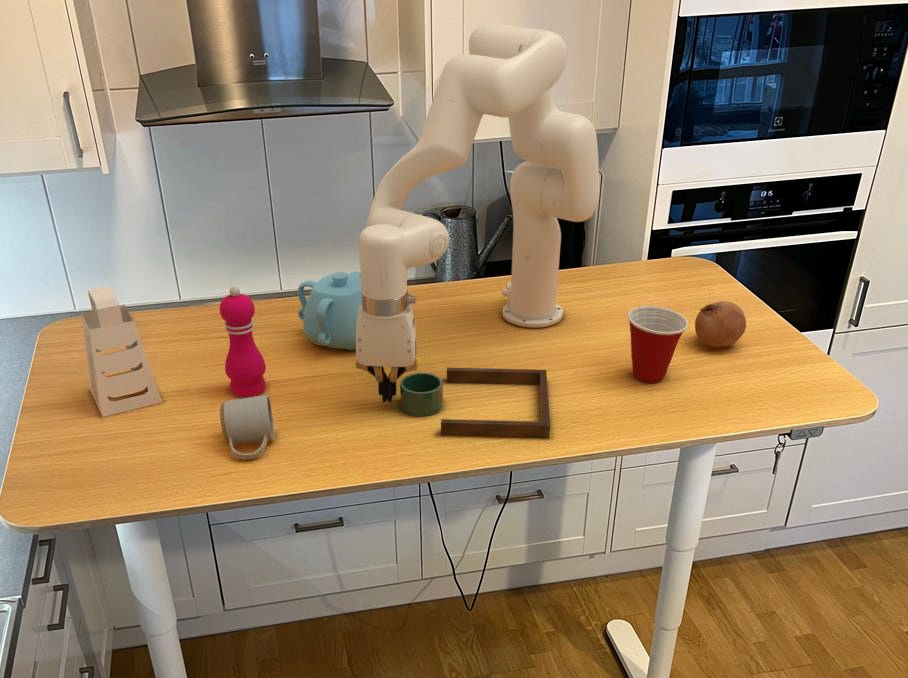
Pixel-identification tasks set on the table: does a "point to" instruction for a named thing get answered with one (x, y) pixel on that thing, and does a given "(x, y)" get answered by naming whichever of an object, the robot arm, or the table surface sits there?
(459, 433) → the walnut bay
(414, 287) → the table surface
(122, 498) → the table surface
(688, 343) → the table surface
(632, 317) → the plastic cup
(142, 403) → the grater
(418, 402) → the green cup
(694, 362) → the table surface
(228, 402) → the ceramic mug
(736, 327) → the onion
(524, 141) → the robot arm
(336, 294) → the decorative pot
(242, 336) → the pepper mill
